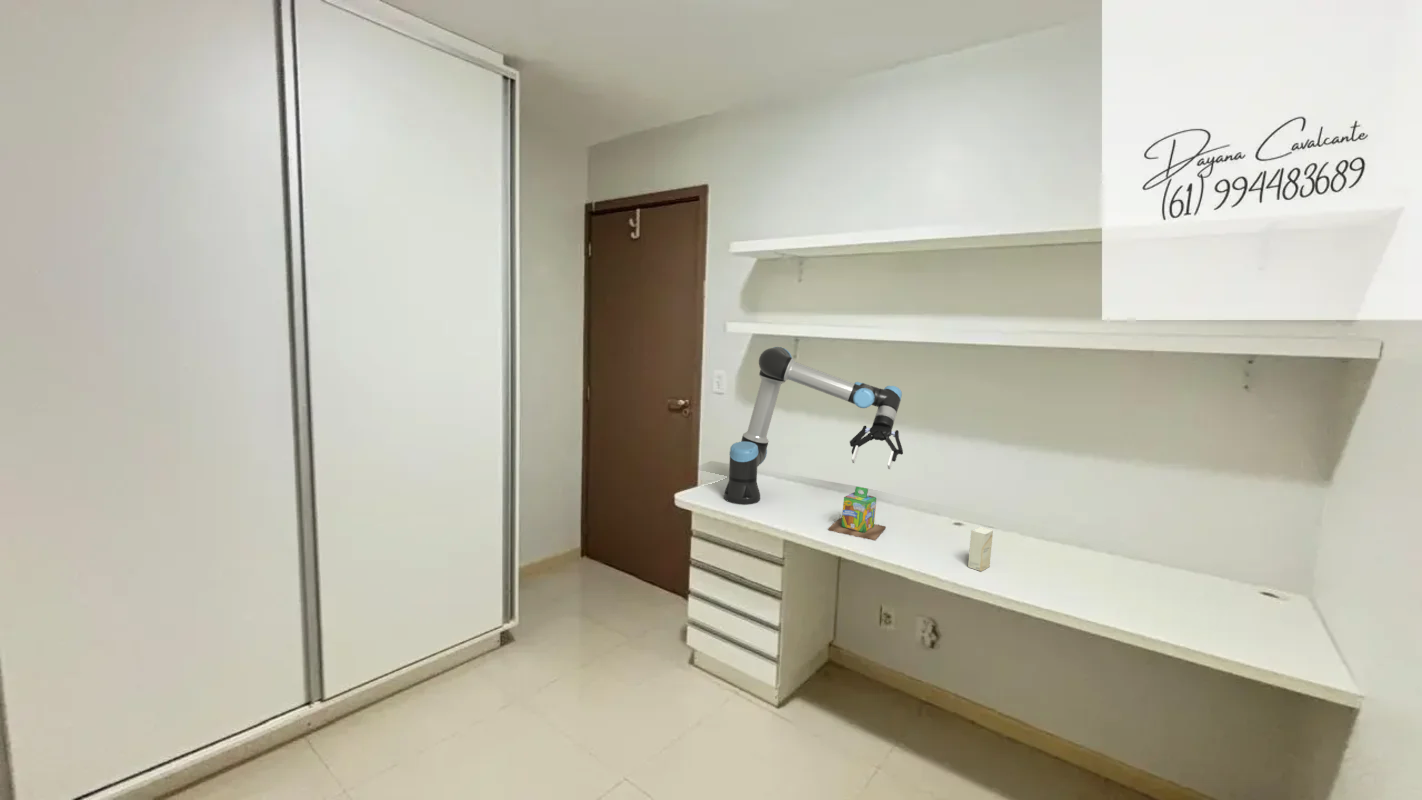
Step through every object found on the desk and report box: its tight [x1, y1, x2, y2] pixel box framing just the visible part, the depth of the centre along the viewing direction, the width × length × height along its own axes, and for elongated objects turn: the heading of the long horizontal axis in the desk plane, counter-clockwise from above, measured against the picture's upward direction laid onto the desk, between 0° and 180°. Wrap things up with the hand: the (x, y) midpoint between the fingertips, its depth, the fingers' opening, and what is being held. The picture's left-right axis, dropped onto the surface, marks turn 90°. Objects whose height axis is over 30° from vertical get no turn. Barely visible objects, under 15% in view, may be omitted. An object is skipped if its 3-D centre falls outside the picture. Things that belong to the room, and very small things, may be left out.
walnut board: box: [828, 516, 887, 541], centre depth 215 cm, size 17×14×1 cm
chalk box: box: [841, 486, 877, 533], centre depth 213 cm, size 9×9×15 cm
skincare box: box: [967, 526, 994, 572], centre depth 184 cm, size 6×4×12 cm
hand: (870, 464), depth 221 cm, fingers open, 13 cm apart
